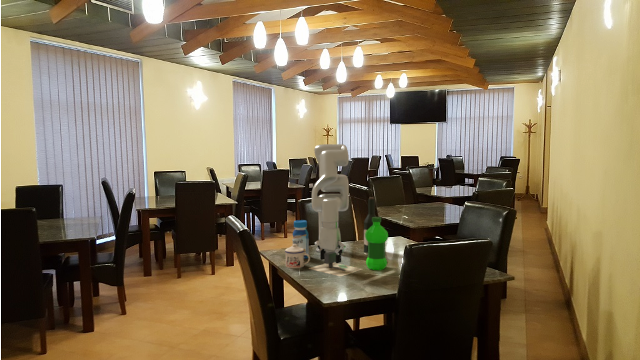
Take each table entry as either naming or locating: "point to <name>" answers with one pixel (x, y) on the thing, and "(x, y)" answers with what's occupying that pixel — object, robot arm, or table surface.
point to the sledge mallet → (331, 259)
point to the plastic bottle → (376, 245)
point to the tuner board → (335, 271)
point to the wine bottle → (369, 220)
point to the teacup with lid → (295, 257)
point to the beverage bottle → (301, 236)
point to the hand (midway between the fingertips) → (330, 261)
